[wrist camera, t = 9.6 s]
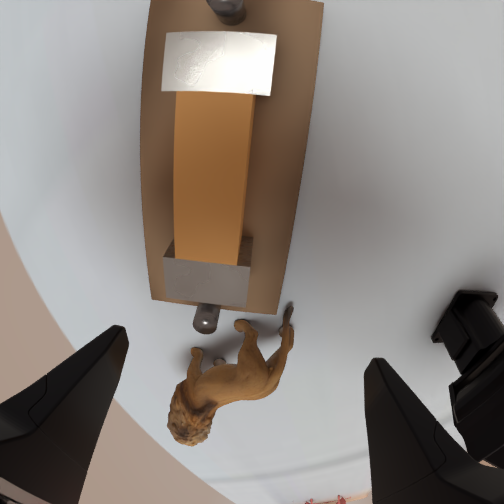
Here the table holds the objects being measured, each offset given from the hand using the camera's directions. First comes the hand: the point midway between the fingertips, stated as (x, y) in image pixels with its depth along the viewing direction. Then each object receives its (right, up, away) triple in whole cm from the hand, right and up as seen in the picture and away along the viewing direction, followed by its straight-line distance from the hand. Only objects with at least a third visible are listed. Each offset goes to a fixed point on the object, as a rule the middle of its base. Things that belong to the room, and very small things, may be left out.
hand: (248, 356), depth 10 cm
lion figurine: (-2, -5, +17) cm, 18 cm away
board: (-2, +9, +8) cm, 12 cm away
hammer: (-2, +9, +7) cm, 11 cm away
